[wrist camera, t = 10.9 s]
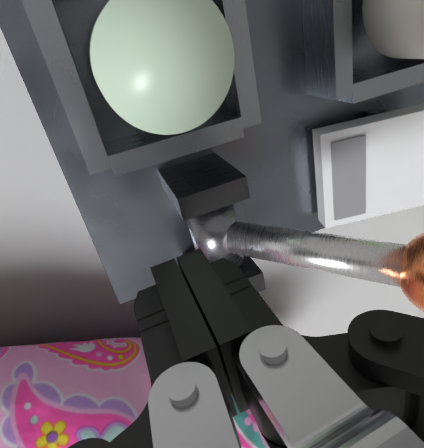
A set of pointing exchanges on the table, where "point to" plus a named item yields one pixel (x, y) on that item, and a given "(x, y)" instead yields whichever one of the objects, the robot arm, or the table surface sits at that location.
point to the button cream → (395, 27)
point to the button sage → (162, 62)
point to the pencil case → (80, 393)
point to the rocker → (369, 166)
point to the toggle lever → (312, 251)
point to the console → (204, 125)
